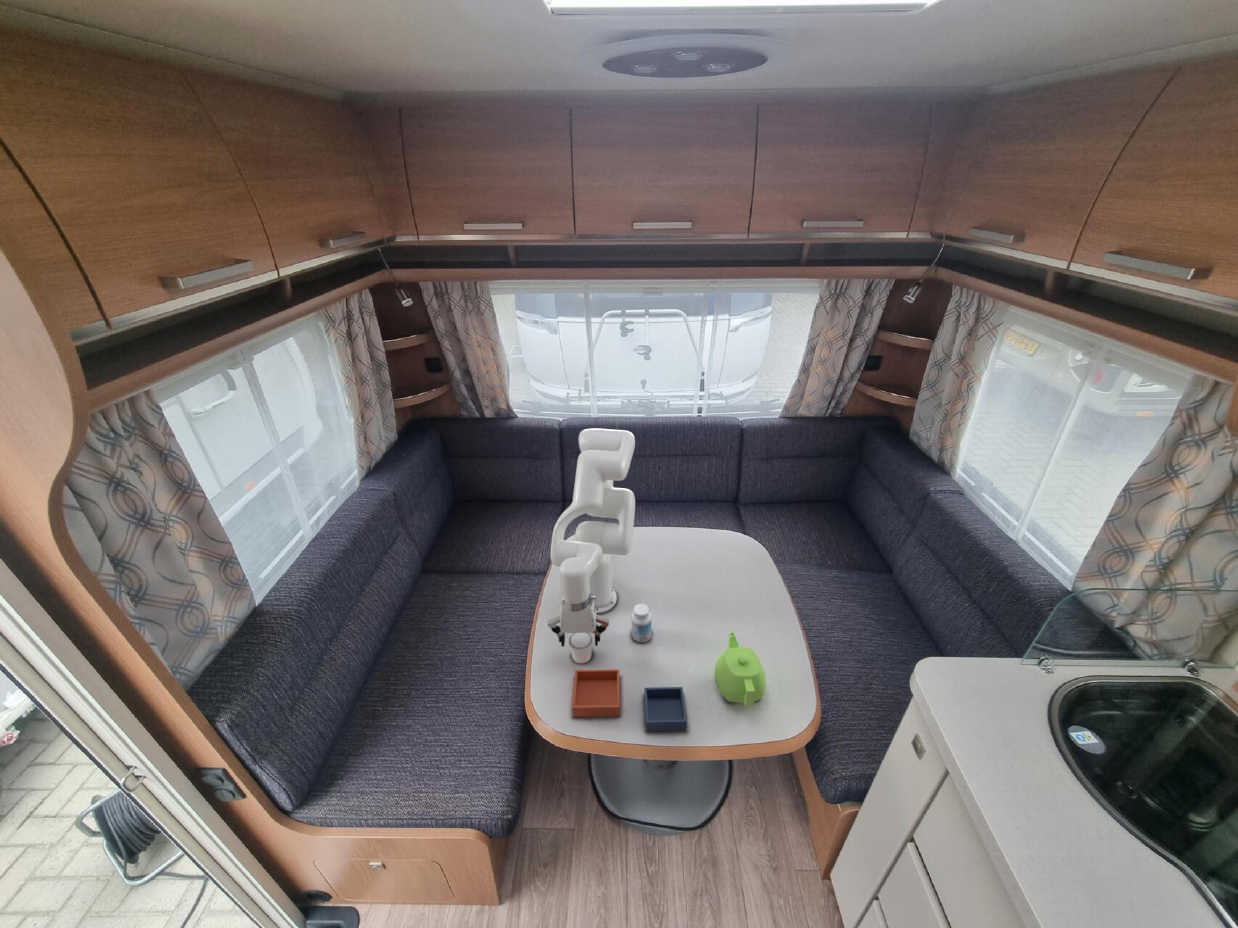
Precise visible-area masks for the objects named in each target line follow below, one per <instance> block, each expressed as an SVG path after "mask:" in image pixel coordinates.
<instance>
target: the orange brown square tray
mask: <svg viewBox="0 0 1238 928" xmlns="http://www.w3.org/2000/svg"><path fill="white" fill-rule="evenodd" d="M620 708H621V707H620V669H619V668H615V669H614V668H613V669H610V668H609V669H575V671H574V683H573V695H572V706H571V710H572V717H573V718H581V717H582V718H583V717H584V718H586V717H587V718H588V717H590V718H591V717H620V716H621V715H620Z"/></svg>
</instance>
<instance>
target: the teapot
mask: <svg viewBox="0 0 1238 928" xmlns="http://www.w3.org/2000/svg"><path fill="white" fill-rule="evenodd" d="M738 643H739V642H738V641H737V638H736V633H735V631H734V632H732V631H731V632H730V631H729V634H728V649H726V650H724V651H723V652H722V653H721V654H720V655H719V657H718V658H717V660H716V663H715V666H714V681H715V685H716V686H717V689H718V690H719V692H720V694H721V695H722V696H723V697H724V698H725V700H726V701H727V702H728V703H729V702H730V703H736V704H743V705H744V706H745V707H746V708H754V707H755V702H757V701H760V700H761V699H762V698H763V697H764V695H765V694H766V688H767V679H766V673H765V669H764V665H763V664H762V662H761V661H760V658H759V657H758V655H757V654H756V652H755V651H754V650H753V649H751V648H749V647H747V646H740V645H739V644H738Z"/></svg>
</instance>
